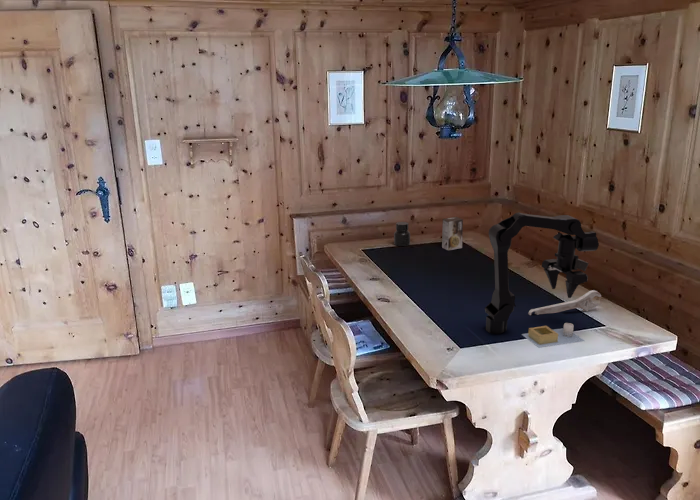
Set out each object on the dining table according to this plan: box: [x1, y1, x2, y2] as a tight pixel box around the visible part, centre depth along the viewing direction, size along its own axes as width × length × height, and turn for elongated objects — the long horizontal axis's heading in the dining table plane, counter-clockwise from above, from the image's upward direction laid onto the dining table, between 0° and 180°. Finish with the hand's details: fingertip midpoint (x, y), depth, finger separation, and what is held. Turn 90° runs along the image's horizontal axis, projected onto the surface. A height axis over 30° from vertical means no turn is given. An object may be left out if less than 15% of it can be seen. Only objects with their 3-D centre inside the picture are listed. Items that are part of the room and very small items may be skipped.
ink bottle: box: [393, 221, 411, 247], centre depth 313 cm, size 10×9×12 cm
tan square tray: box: [527, 325, 558, 345], centre depth 197 cm, size 7×7×3 cm
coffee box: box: [441, 216, 464, 251], centre depth 304 cm, size 9×6×16 cm
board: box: [521, 322, 586, 349], centre depth 198 cm, size 18×11×5 cm, turn 105°
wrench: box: [527, 289, 602, 316], centre depth 220 cm, size 8×2×30 cm
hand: (561, 293), depth 205 cm, fingers open, 9 cm apart
